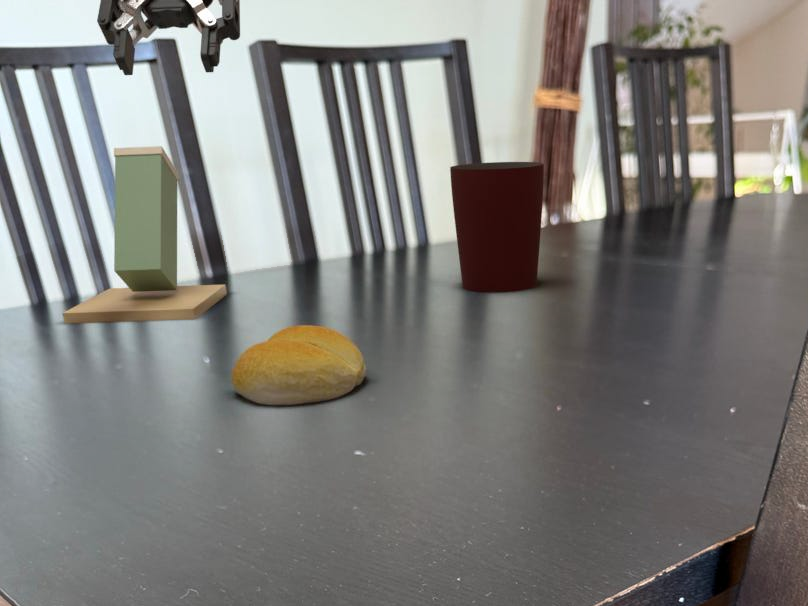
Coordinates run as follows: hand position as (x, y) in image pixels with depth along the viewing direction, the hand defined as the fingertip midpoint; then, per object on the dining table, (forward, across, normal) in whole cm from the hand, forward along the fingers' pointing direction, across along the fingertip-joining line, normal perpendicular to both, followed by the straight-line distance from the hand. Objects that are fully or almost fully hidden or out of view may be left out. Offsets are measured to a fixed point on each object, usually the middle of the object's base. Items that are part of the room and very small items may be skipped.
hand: (166, 67), depth 97 cm
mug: (+23, +34, +6) cm, 42 cm away
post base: (+28, 0, +1) cm, 28 cm away
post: (+26, 0, -1) cm, 26 cm away
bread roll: (+49, +20, -20) cm, 57 cm away
